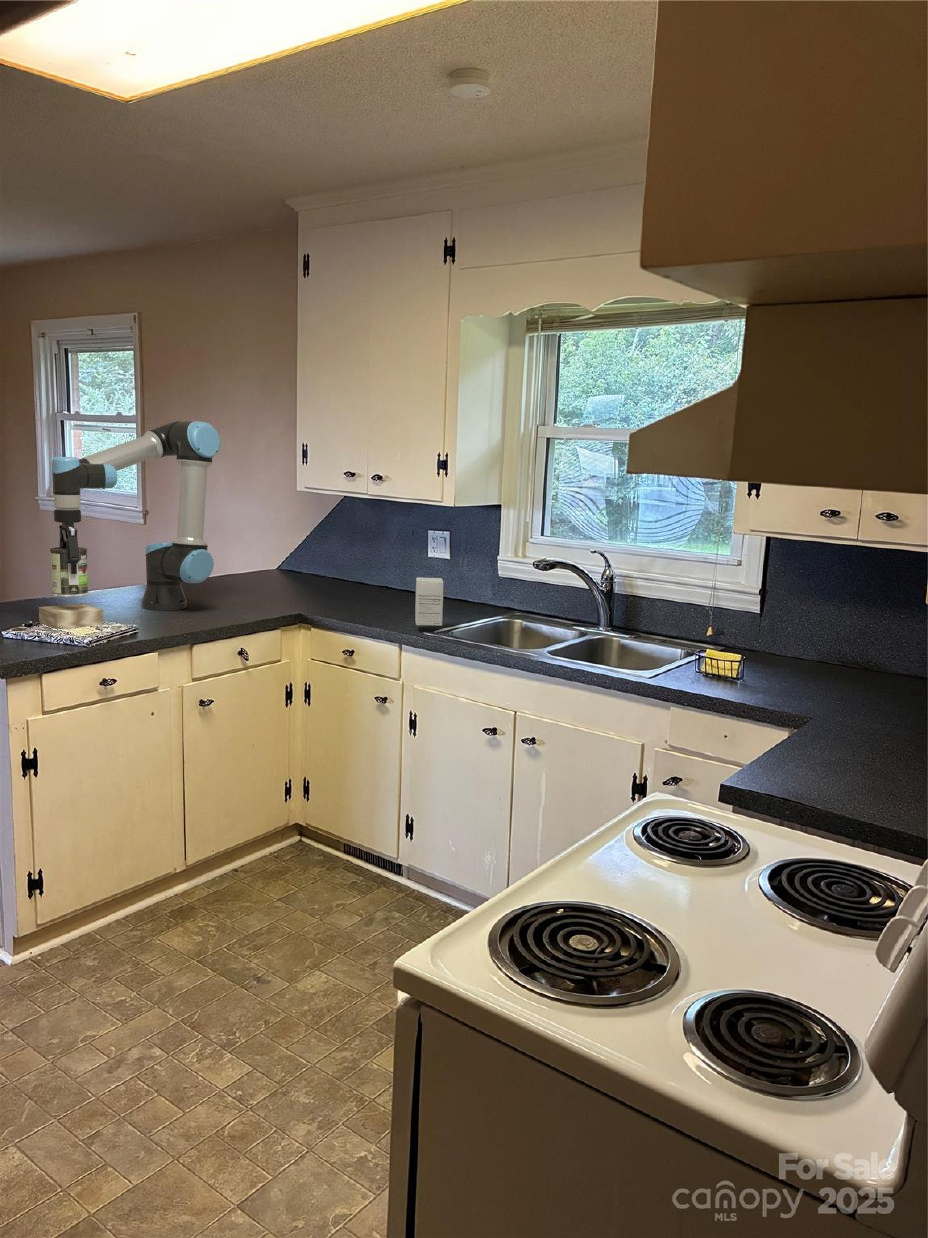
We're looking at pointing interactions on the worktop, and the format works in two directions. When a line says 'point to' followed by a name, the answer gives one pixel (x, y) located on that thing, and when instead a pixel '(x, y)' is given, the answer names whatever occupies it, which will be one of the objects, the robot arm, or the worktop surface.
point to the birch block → (70, 616)
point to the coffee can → (61, 573)
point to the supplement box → (429, 601)
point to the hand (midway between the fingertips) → (70, 582)
